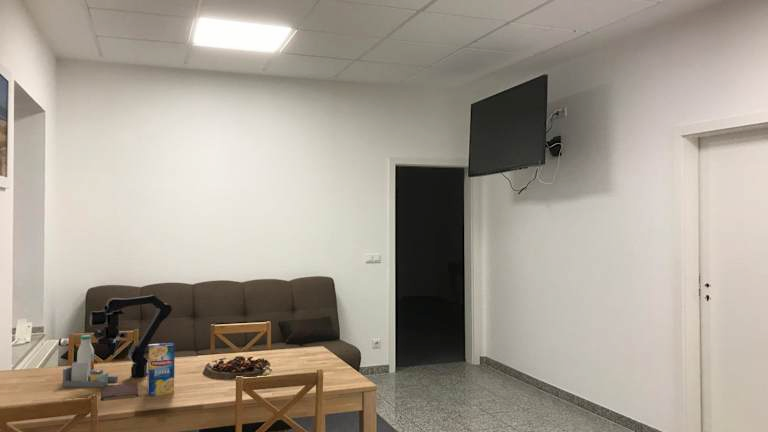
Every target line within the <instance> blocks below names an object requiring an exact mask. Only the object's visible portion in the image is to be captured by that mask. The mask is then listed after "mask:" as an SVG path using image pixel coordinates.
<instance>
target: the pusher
mask: <svg viewBox="0 0 768 432" xmlns="http://www.w3.org/2000/svg"><path fill="white" fill-rule="evenodd" d="M108 376H109V372H108V371H106V372H103V374H102V375H100V376H98V381H108Z"/></svg>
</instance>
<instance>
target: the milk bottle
mask: <svg viewBox="0 0 768 432" xmlns="http://www.w3.org/2000/svg"><path fill="white" fill-rule="evenodd" d="M91 340H92V336H91V334H86V335H85V334H84V335H81V336H80V344H79V348H78V349H77V355H76V363H86V362H88V376H90V371H92V370H95V349H94V347H93V345H92V342H91Z"/></svg>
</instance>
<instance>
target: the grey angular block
mask: <svg viewBox="0 0 768 432" xmlns="http://www.w3.org/2000/svg"><path fill="white" fill-rule="evenodd" d="M71 366H72V373H71V381H88V362H86V363H77V362H73V363H71Z"/></svg>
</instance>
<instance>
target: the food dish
mask: <svg viewBox="0 0 768 432" xmlns="http://www.w3.org/2000/svg"><path fill="white" fill-rule="evenodd" d="M253 358H254V357H253V356H249V357H247V358H245V357H244V356H241V355H239V356H235V357H234V358H233V359H229V361H227V362H224V360H226V359H227V357H224V358H219V359H218V360H217V359H215V360H212V361H211V363H214V364H213V365H211V364H210V362H208V363H206V365H205V366H204V368H203V372H202V373H201V374H202V375H203V376H204V377H206V378H207V379H211V380H236V379H235V378H236V376H243V377H248V378H251V376H253V377H257V375H258V374H260V375H262V374H263V373H265V372H266V371H267V370H269V368H270V367H271V363H270V361H269V360H268V359H265V358H264V357H262V358H261V357H260V358H256V359H255V360H254V359H253ZM246 359H247V360H246ZM264 371H265V372H264ZM261 373H262V374H261ZM258 376H259V375H258Z"/></svg>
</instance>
